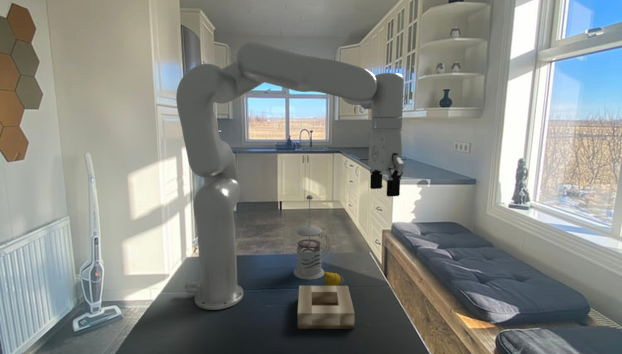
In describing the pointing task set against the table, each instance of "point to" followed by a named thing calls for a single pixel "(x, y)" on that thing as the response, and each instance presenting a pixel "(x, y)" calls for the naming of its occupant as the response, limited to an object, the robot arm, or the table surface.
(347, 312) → the socket block
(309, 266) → the french press
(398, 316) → the table surface
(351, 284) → the table surface
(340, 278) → the yellow stepped cone
